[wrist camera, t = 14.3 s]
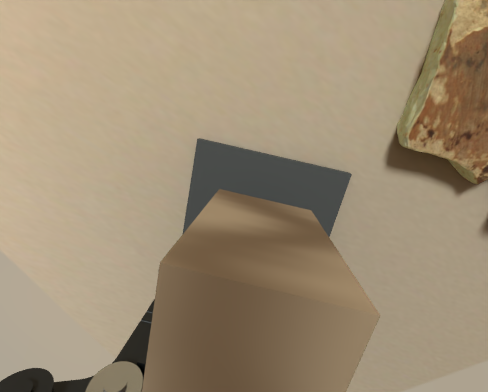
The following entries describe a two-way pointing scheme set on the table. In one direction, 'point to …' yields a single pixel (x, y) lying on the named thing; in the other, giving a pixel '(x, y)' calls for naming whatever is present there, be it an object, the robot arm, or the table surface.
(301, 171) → the rest mat
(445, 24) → the shard
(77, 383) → the robot arm
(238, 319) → the block
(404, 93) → the table surface
